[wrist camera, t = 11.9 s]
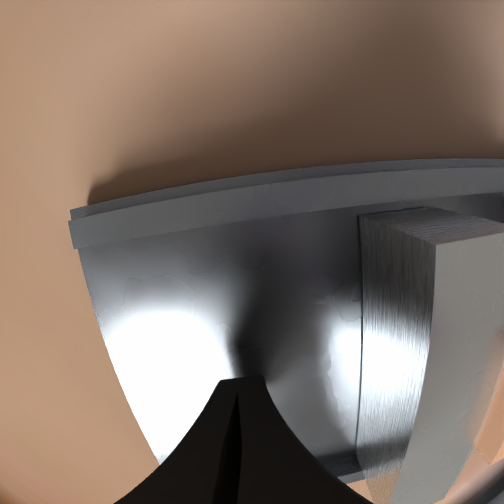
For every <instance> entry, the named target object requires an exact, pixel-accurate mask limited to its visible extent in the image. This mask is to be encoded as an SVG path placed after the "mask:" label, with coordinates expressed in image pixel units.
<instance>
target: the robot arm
mask: <svg viewBox="0 0 504 504" xmlns="http://www.w3.org/2000/svg"><path fill="white" fill-rule="evenodd" d="M114 504H373V503H372V502H370V501H369V500H367V499H366V498H364V497H363V496H361V495H360V494H358V493H357V492H355V491H354V490H353V489H351V488H350V487H349V486H347V485H346V484H345V483H344V482H342V481H341V480H340V479H338V478H337V477H336V476H335V475H333V474H332V473H331V472H330V471H329V470H328V469H327V468H326V467H324V466H323V465H322V464H321V463H320V462H319V461H318V460H317V459H316V458H315V457H314V456H313V455H312V454H311V453H310V452H309V451H308V449H307V448H306V447H305V446H304V445H303V444H302V443H301V441H300V440H299V439H298V438H297V437H296V435H295V434H294V433H293V431H292V430H291V429H290V427H289V426H288V425H287V423H286V422H285V420H284V419H283V417H282V415H281V414H280V412H279V411H278V409H277V407H276V406H275V404H274V402H273V400H272V398H271V396H270V394H269V392H268V389H267V386H266V382H265V377H264V376H262V375H261V374H259V375H252V376H246V377H239V378H232V379H224V380H220V381H219V382H218V383H217V385H216V387H215V389H214V390H213V392H212V394H211V396H210V398H209V399H208V401H207V403H206V404H205V406H204V408H203V409H202V411H201V413H200V414H199V416H198V417H197V419H196V420H195V422H194V423H193V425H192V426H191V428H190V429H189V431H188V432H187V433H186V435H185V436H184V437H183V438H182V440H181V441H180V442H179V444H178V445H177V446H176V448H175V449H174V450H173V451H172V452H171V453H170V455H169V456H168V457H167V458H166V459H165V460H164V461H163V462H162V463H161V464H160V465H159V467H158V468H157V469H156V470H155V471H154V472H153V473H151V474H150V475H149V476H148V477H147V478H146V479H145V480H144V481H143V482H141V483H140V484H139V485H138V486H137V487H135V488H134V489H133V490H132V491H131V492H129V493H128V494H127V495H125V496H124V497H123V498H121V499H120V500H118V501H117V502H115V503H114Z"/></svg>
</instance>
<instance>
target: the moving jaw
mask: <svg viewBox="0 0 504 504" xmlns="http://www.w3.org/2000/svg"><path fill="white" fill-rule="evenodd" d="M359 226H360V240H361V257H362V282H363V358H362V382H361V398H360V412H359V424H358V434H357V443H356V455H357V458H358V461H359V463H360V466H361V469H362V471H363V474H364V477H365V480H366V482H367V485H368V488H369V491H370V493H371V496H372V499H373V502H374V504H433V503H435V502H437V501H439V500H442V499H444V497H445V495H446V494H447V492H448V490H449V489H450V487H451V486H453V485H454V484H455V482H456V480H457V479H458V477H459V475H460V473H461V471H462V470H463V468H464V466H465V464H466V462H467V460H468V458H469V456H470V454H471V452H472V450H473V448H474V446H475V444H476V441H477V439H478V437H479V435H480V433H481V430H482V428H483V426H484V423H485V421H486V418H487V416H488V413H489V411H490V408H491V406H492V403H493V400H494V397H495V395H496V392H497V389H498V386H499V383H500V380H501V376H502V373H503V370H504V223H500V222H496V221H492V220H488V219H484V218H480V217H476V216H471V215H467V214H463V213H458V212H454V211H449V210H445V209H440V208H435V207H426V208H418V209H409V210H400V211H392V212H384V213H376V214H367V215H359Z"/></svg>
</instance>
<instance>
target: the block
mask: <svg viewBox="0 0 504 504" xmlns="http://www.w3.org/2000/svg"><path fill="white" fill-rule="evenodd" d="M475 447H476V448H477V450H478V451H479V453H480V454H481V455H482V457H483V458H484V460H485V461H486V462H487V464H488V465H489V466H491V465H493V464H494V463H496V462H498V461H499V460H501V459H503V458H504V370H503V373H502V376H501V380H500V383H499V386H498V389H497V392H496V395H495V397H494V400H493V403H492V406H491V408H490V411H489V413H488V416H487V418H486V421H485V423H484V426H483V428H482V430H481V433H480V435H479V437H478V439H477V441H476V444H475Z"/></svg>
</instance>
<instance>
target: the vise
mask: <svg viewBox="0 0 504 504" xmlns="http://www.w3.org/2000/svg"><path fill="white" fill-rule="evenodd" d="M426 207H435V208H440V209H445V210H449V211H454V212H458V213H463V214H467V215H471V216H476V217H480V218H484V219H488V220H492V221H496V222H500V223H504V159H491V158H446V159H412V160H392V161H375V162H361V163H348V164H337V165H326V166H316V167H306V168H297V169H289V170H280V171H272V172H265V173H257V174H250V175H243V176H236V177H230V178H223V179H217V180H211V181H205V182H199V183H193V184H188V185H182V186H177V187H171V188H166V189H161V190H156V191H151V192H146V193H141V194H136V195H131V196H127V197H122V198H118V199H113V200H109V201H104V202H100V203H96V204H92V205H88V206H84V207H80V208H76V209H72V210H70V213H71V219H72V220H70V221H68V223H69V228H70V233H71V238H72V243H73V247H74V249H78V252H79V256H80V261H81V265H82V269H83V272H84V276H85V280H86V284H87V287H88V291H89V294H90V298H91V301H92V305H93V308H94V311H95V314H96V318H97V321H98V324H99V327H100V330H101V333H102V336H103V338H104V341H105V344H106V347H107V350H108V352H109V355H110V358H111V360H112V363H113V366H114V368H115V371H116V373H117V376H118V378H119V381H120V383H121V385H122V388H123V390H124V392H125V395H126V397H127V399H128V402H129V404H130V406H131V408H132V410H133V413H134V415H135V417H136V419H137V421H138V423H139V425H140V427H141V429H142V431H143V433H144V435H145V437H146V439H147V441H148V443H149V445H150V447H151V449H152V451H153V453H154V454H155V456H156V458H157V460H158V462H159V464H161V463H162V462H163V461H164V460H165V459H166V458H167V457H168V456H169V455H170V453H171V452H172V451H173V450H174V449H175V448H176V446H177V445H178V444H179V442H180V441H181V440H182V438H183V437H184V436H185V435H186V433H187V432H188V431H189V429H190V428H191V426H192V425H193V423H194V422H195V420H196V419H197V417H198V416H199V414H200V413H201V411H202V409H203V408H204V406H205V404H206V403H207V401H208V399H209V398H210V396H211V394H212V392H213V390H214V389H215V387H216V385H217V383H218V382H219V381H220V380H224V379H232V378H239V377H246V376H252V375H259V374H261V375H262V376H264V377H265V382H266V386H267V389H268V392H269V394H270V396H271V398H272V400H273V402H274V404H275V406H276V407H277V409H278V411H279V412H280V414H281V415H282V417H283V419H284V420H285V422H286V423H287V425H288V426H289V427H290V429H291V430H292V431H293V433H294V434H295V435H296V437H297V438H298V439H299V440H300V441H301V443H302V444H303V445H304V446H305V447H306V448H307V449H308V451H309V452H310V453H311V454H312V455H313V456H314V457H315V458H316V459H317V460H318V461H319V462H320V463H321V464H322V465H323V466H324V467H326V468H327V469H328V470H329V471H330V472H331V473H332V474H333V475H335V476H336V477H337V478H338V479H340V480H341V481H342V482H344V483H345V484H348V483H352V482H356V481H359V480H363V479H365V477H364V474H363V471H362V469H361V466H360V463H359V461H358V458H357V455H356V443H357V434H358V424H359V412H360V398H361V382H362V358H363V282H362V257H361V240H360V226H359V215H367V214H376V213H384V212H392V211H400V210H409V209H418V208H426Z"/></svg>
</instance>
